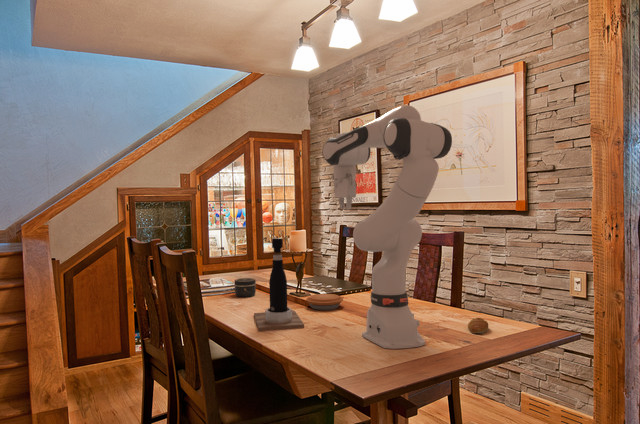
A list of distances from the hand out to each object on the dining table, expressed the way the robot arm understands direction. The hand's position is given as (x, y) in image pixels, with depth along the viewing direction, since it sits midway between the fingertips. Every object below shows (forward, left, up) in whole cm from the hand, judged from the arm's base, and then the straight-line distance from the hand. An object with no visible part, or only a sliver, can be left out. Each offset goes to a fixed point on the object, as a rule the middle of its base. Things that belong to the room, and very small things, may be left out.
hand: (345, 209), depth 192 cm
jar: (+44, +38, -41) cm, 71 cm away
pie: (+10, +7, -42) cm, 43 cm away
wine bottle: (-11, +29, -40) cm, 51 cm away
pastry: (-38, -36, -42) cm, 67 cm away
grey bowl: (-11, +29, -40) cm, 50 cm away
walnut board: (-8, +29, -41) cm, 51 cm away
